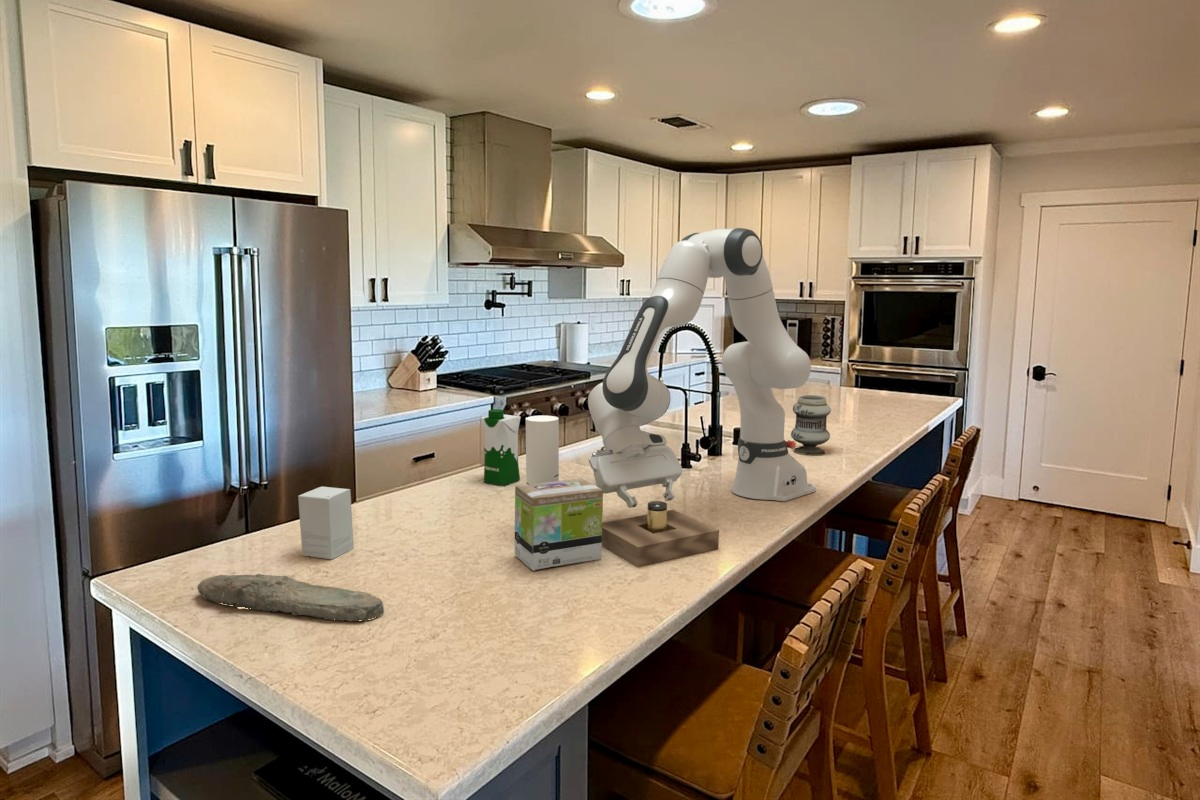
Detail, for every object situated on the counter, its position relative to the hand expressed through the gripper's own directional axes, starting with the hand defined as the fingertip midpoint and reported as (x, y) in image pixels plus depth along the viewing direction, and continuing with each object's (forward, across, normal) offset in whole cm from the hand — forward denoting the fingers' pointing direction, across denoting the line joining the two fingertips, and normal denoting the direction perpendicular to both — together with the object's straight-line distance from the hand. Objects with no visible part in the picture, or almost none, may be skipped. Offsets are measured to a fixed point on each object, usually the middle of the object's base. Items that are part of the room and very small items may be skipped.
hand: (652, 502), depth 159 cm
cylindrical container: (-7, -16, +20) cm, 26 cm away
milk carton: (-36, -8, +48) cm, 61 cm away
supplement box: (-14, -60, +26) cm, 67 cm away
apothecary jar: (-24, +92, +38) cm, 102 cm away
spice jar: (+8, 0, +5) cm, 9 cm away
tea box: (+5, -21, +8) cm, 23 cm away
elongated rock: (+2, -71, +10) cm, 72 cm away
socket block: (+8, 0, +4) cm, 9 cm away
